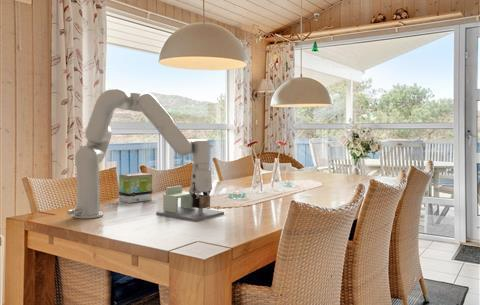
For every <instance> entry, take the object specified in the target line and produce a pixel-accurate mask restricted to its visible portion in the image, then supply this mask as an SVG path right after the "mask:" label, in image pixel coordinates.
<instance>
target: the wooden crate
mask: <svg viewBox="0 0 480 305" xmlns="http://www.w3.org/2000/svg"><path fill="white" fill-rule="evenodd" d="M198 199H199V207H198V208H201V209H202V208H203V209H207V208H210V207H211V195H209V196H208V195H203V194H199V197H198ZM191 207H193V198H192V205H191ZM195 208H197V207H195Z"/></svg>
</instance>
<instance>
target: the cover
mask: <svg viewBox="0 0 480 305" xmlns="http://www.w3.org/2000/svg"><path fill="white" fill-rule="evenodd" d="M162 198H163V199H162V200H163V201H162V205H163V206H162V211H169V212H175V213H177V212H178V207H179V199H180V207H186V208H192V209H194V208H195V207H191V205H192V196H191V194H190V193H189V191H184V190H183V185H174V186H168V187H165V194H163V197H162Z"/></svg>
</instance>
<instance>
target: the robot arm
mask: <svg viewBox="0 0 480 305" xmlns="http://www.w3.org/2000/svg"><path fill="white" fill-rule="evenodd" d="M116 109H119V110H124V111H132V112H141V113H142V114H143V115H144V117H146V119H147V120H148V121H149V122H150V123H151V124H152V125H153V127H154V129H156V131H157V132H158V133H159V134H160V135H161V136H162V137H163V138H164V140H165V141H166V142H167V144H168V145H169V146H170V147H171V148H172V149H173V151H174V152H175V154H177V155H178V156H180V157H187V156H189V155H192V171H191V177H190V188H189V190H188V192H189V193H190V194H191V196H192V198H193V207H197V208H198V207H199V199H198V197H199V195H200V193H202V195H208V196H210V194H211V191H212V190H213V182H212V173H211V169H210V149H211V148H210V144H211V143H210V140H208V139H190V138H189V139H188V138H187V137H186V135H184V133H182V131H181V130H180V128H178V126H177V124H176V123H175V121H174V119H173V118H172V116H171V115H170V114H169V113H168V111H167V110H166V109H165V108H164V106H162V105H161V103H160V102H159V101H158V99H157V97H156V96H154V95H153V94H152V93H149V92H145V93H138V92H131V91H127V90H125V89H121V88H111V89H107V90H105V91H104V92H102V93H101V94H100V95H99V96H98V97H97V99H96V101H95V104H94V106H93V110H92V112H91V115H90V118H89V121H88V124H87V127H86V129H85V139H87V142H86V145H82V146H81V147H79V148H78V150H76V153H75V158H74V160H75V162H74V163H75V168H76V206H74V208H73V209H68V210H66V214H67V215H68V216H70V215H72V217H73V218H75V219H80V220H81V219H82V220H83V219H96V218H100V217H103V216H104V212H103V211H101V204H100V203H101V196H100V194H101V192H100V190H101V182H100V181H101V180H100V179H101V177H100V166H99V165H100V163H102V161H103V160H104V159H105V156H106V153H107V150H108V148H109V144H110V142H111V139H112V134H113V133H112V129H111V127H110V124H111V122H112V120H113V114H114V111H116Z"/></svg>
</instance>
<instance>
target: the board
mask: <svg viewBox="0 0 480 305" xmlns="http://www.w3.org/2000/svg"><path fill="white" fill-rule="evenodd" d="M155 214H156V215H157V216H162V217H168V218H173V219H179V220H185V221H191V222H196V223H197V222H200V221H201V222H202V221H204V220H208V219H212V218H215V217H220V216H223V215H225V211H221V210H216V209H209V208H202V209H201V208H194V209H192V208H186V207H181V206H178V212H177V213H175V212H169V211H163V210H159V211H156V213H155Z"/></svg>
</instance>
